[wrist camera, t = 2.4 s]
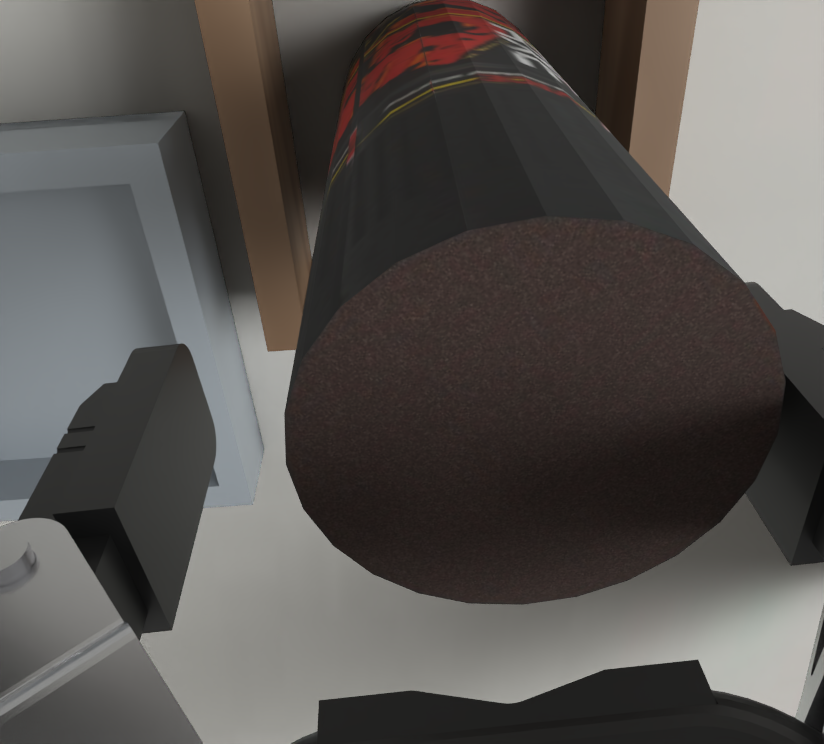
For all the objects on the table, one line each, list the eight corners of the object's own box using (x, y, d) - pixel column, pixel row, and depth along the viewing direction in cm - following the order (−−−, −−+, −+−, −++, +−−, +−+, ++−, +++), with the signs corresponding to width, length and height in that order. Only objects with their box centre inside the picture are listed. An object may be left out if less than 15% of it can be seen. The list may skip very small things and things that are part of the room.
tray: (184, 111, 21) (157, 142, 18) (264, 449, 28) (253, 504, 26) (-261, 141, 21) (-348, 178, 18) (-63, 471, 28) (-106, 528, 26)
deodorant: (572, 24, 20) (892, 273, 7) (511, 222, 23) (659, 623, 11) (360, -26, 19) (319, 160, 6) (328, 187, 22) (261, 581, 10)
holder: (666, -143, 17) (722, -146, 15) (616, 272, 24) (648, 326, 21) (206, -110, 18) (171, -108, 15) (281, 294, 24) (268, 351, 21)
